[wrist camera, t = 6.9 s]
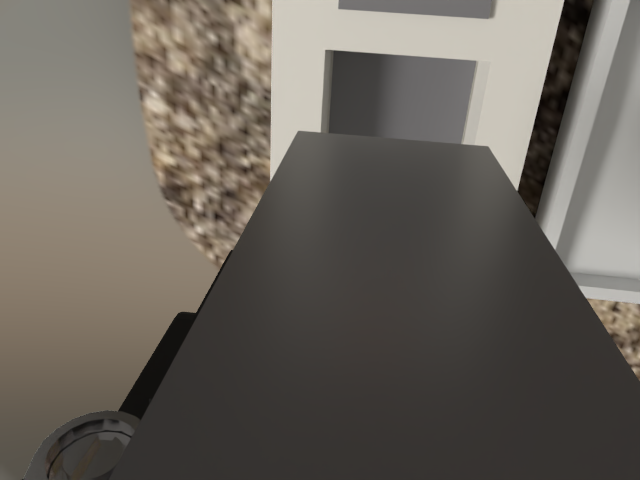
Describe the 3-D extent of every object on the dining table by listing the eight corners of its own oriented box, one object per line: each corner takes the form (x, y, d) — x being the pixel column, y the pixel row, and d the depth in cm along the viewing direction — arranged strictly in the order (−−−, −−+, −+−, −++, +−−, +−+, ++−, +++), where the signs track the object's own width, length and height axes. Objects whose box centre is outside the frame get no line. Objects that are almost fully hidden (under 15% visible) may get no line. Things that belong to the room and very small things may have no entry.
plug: (488, 146, 12) (813, 650, 3) (447, 341, 14) (555, 926, 6) (297, 130, 12) (74, 544, 3) (291, 324, 15) (154, 852, 6)
